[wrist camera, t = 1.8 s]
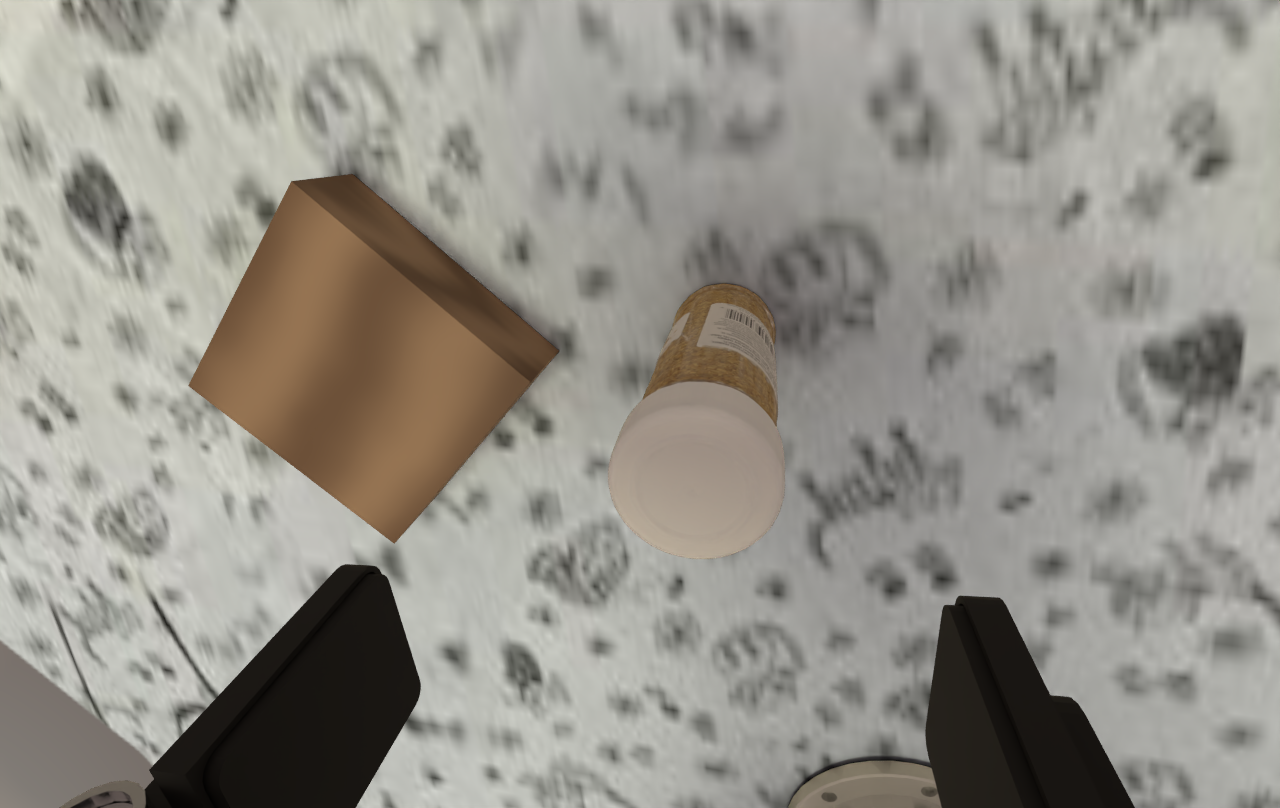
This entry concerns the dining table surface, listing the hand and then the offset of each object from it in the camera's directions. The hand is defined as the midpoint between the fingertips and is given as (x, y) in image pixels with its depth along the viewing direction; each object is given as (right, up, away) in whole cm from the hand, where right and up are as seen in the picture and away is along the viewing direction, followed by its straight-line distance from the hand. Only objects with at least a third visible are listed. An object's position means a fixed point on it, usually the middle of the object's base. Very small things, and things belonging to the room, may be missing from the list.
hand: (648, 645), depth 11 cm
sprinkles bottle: (+4, +7, +17) cm, 19 cm away
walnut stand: (-12, +6, +21) cm, 25 cm away
